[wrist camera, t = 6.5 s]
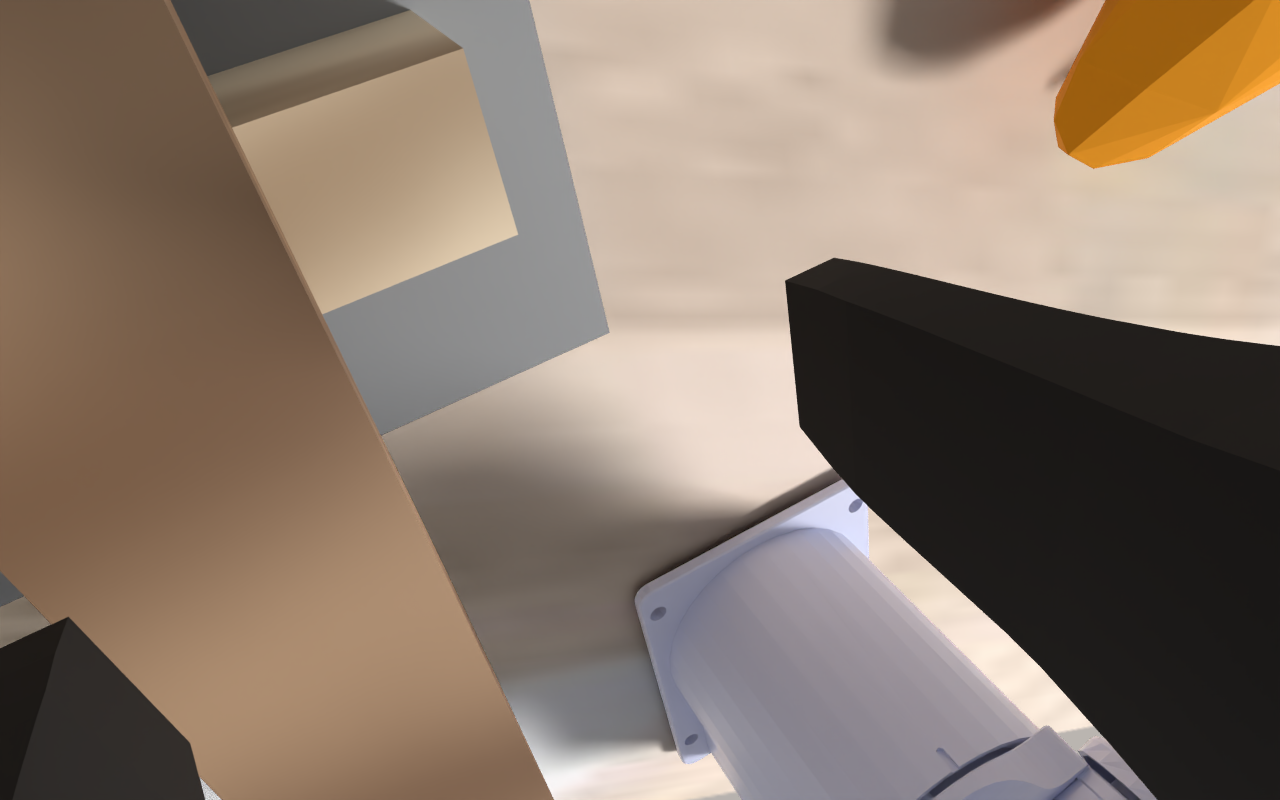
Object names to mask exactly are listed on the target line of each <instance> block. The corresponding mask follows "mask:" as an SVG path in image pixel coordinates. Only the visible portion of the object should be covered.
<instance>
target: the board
mask: <svg viewBox="0 0 1280 800" xmlns="http://www.w3.org/2000/svg"><path fill="white" fill-rule="evenodd" d="M171 2H172V4H173V7H174V9H175V11H176V13H177V15H178V17H179V19H180V21H181V23H182V25H183V27H184V29H185V31H186V33H187V35H188V38H189V40H190V42H191V44H192V46H193V48H194V50H195V52H196V54H197V56H198V58H199V60H200V62H201V64H202V67H203V69H204V71H205V73H206V75H207V76H210V75H213V74H216V73H219V72H222V71H225V70H228V69H231V68H234V67H237V66H240V65H243V64H246V63H249V62H252V61H255V60H259V59H262V58H265V57H268V56H271V55H274V54H277V53H280V52H283V51H286V50H289V49H292V48H295V47H298V46H301V45H304V44H307V43H311V42H314V41H317V40H320V39H323V38H326V37H329V36H332V35H335V34H338V33H341V32H344V31H347V30H350V29H353V28H356V27H359V26H363V25H366V24H369V23H372V22H375V21H378V20H381V19H384V18H387V17H390V16H393V15H396V14H399V13H402V12H405V11H408V10H411V11H413V12H414V13H415V14H417V15H418V16H419V17H421V18H422V19H424V20H425V21H426V22H428V23H429V24H430V25H432V26H433V27H435V28H436V29H437V30H439V31H440V32H441V33H443V34H444V35H446V36H447V37H448V38H450V39H451V40H452V41H454V42H455V43H457V44H458V45H459V46H461V47H462V48H463V49H464V53H465V56H466V60H467V63H468V66H469V70H470V73H471V77H472V80H473V83H474V87H475V90H476V93H477V97H478V100H479V104H480V107H481V110H482V114H483V117H484V120H485V124H486V127H487V131H488V134H489V137H490V141H491V144H492V148H493V151H494V154H495V158H496V161H497V164H498V168H499V171H500V175H501V178H502V181H503V185H504V188H505V191H506V195H507V198H508V202H509V205H510V208H511V212H512V215H513V218H514V222H515V225H516V229H517V232H518V235H516V236H513V237H511V238H509V239H506V240H504V241H501V242H499V243H496V244H494V245H491V246H489V247H486V248H484V249H482V250H479V251H477V252H474V253H472V254H469V255H467V256H464V257H462V258H459V259H457V260H454V261H452V262H450V263H447V264H445V265H442V266H440V267H437V268H435V269H432V270H430V271H427V272H425V273H423V274H420V275H418V276H415V277H413V278H410V279H408V280H405V281H403V282H400V283H398V284H396V285H393V286H391V287H388V288H386V289H383V290H381V291H378V292H376V293H373V294H371V295H369V296H366V297H364V298H361V299H359V300H356V301H354V302H351V303H349V304H346V305H344V306H341V307H339V308H337V309H334V310H332V311H329V312H327V313H324V314H322V315H323V317H324V319H325V321H326V323H327V325H328V327H329V329H330V332H331V334H332V336H333V338H334V340H335V342H336V344H337V346H338V348H339V350H340V352H341V354H342V356H343V358H344V361H345V363H346V365H347V367H348V369H349V371H350V373H351V375H352V377H353V379H354V381H355V383H356V385H357V387H358V389H359V392H360V394H361V396H362V398H363V400H364V402H365V404H366V406H367V408H368V410H369V412H370V414H371V416H372V418H373V421H374V423H375V425H376V427H377V429H378V431H379V433H380V435H383V434H385V433H388V432H390V431H392V430H394V429H396V428H399V427H401V426H403V425H405V424H408V423H410V422H412V421H414V420H416V419H419V418H421V417H423V416H425V415H428V414H430V413H432V412H434V411H436V410H439V409H441V408H443V407H445V406H448V405H450V404H452V403H454V402H456V401H459V400H461V399H463V398H465V397H468V396H470V395H472V394H474V393H476V392H479V391H481V390H483V389H485V388H488V387H490V386H492V385H494V384H496V383H499V382H501V381H503V380H505V379H508V378H510V377H512V376H514V375H516V374H519V373H521V372H523V371H525V370H528V369H530V368H532V367H534V366H536V365H539V364H541V363H543V362H545V361H548V360H550V359H552V358H554V357H556V356H559V355H561V354H563V353H565V352H568V351H570V350H572V349H574V348H576V347H579V346H581V345H583V344H585V343H588V342H590V341H592V340H594V339H596V338H599V337H601V336H603V335H605V334H608V333H610V332H609V328H608V324H607V320H606V316H605V312H604V308H603V304H602V299H601V295H600V291H599V287H598V283H597V279H596V275H595V270H594V266H593V262H592V258H591V254H590V250H589V246H588V241H587V237H586V233H585V229H584V225H583V221H582V217H581V213H580V208H579V204H578V200H577V196H576V192H575V188H574V184H573V179H572V175H571V171H570V167H569V163H568V159H567V155H566V151H565V146H564V142H563V138H562V134H561V130H560V126H559V122H558V117H557V113H556V109H555V105H554V101H553V97H552V93H551V89H550V84H549V80H548V76H547V72H546V68H545V64H544V60H543V55H542V51H541V47H540V43H539V39H538V35H537V31H536V27H535V22H534V18H533V14H532V10H531V6H530V2H529V0H171ZM23 596H24V595H23V594H22V593H21V592H20V591H19V590H18V589H17V588H16V587H15V586H14V585H13V584H12V583H11V582H10V581H9V580H8V579H7V578H6V577H5V576H4V575H3V574H2V573H1V572H0V607H1V606H3V605H5V604H8V603H10V602H12V601H14V600H16V599H19V598H21V597H23Z"/></svg>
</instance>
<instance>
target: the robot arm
mask: <svg viewBox="0 0 1280 800" xmlns="http://www.w3.org/2000/svg"><path fill="white" fill-rule="evenodd" d="M785 284H786V294H787V304H788V314H789V324H790V334H791V344H792V354H793V364H794V374H795V384H796V394H797V404H798V414H799V424H800V428H801V429H802V430H803V431H804V433H805V434H806V435H807V436H808V438H809V439H810V440H811V441H812V443H813V444H814V445H815V446H816V448H817V449H818V450H819V451H820V453H821V454H822V455H823V456H824V458H825V459H826V460H827V461H828V463H829V464H830V465H831V466H832V467H833V469H834V470H835V471H836V472H837V473H838V474H839V476H840V477H841V478H842V479H841V480H840V481H838V482H836V483H834V484H832V485H830V486H828V487H827V488H825V489H823V490H821V491H819V492H817V493H815V494H813V495H812V496H810V497H808V498H806V499H804V500H802V501H800V502H799V503H797V504H795V505H793V506H791V507H789V508H787V509H785V510H784V511H782V512H780V513H778V514H776V515H774V516H772V517H771V518H769V519H767V520H765V521H763V522H761V523H759V524H757V525H756V526H754V527H752V528H750V529H748V530H746V531H744V532H743V533H741V534H739V535H737V536H735V537H733V538H731V539H730V540H728V541H726V542H724V543H722V544H720V545H718V546H716V547H715V548H713V549H711V550H709V551H707V552H705V553H703V554H702V555H700V556H698V557H696V558H694V559H692V560H690V561H688V562H687V563H685V564H683V565H681V566H679V567H677V568H675V569H674V570H672V571H670V572H668V573H666V574H664V575H662V576H660V577H659V578H657V579H655V580H653V581H651V582H649V583H647V584H646V585H644V586H643V587H642V588H641V589H640V590H639V591H638V592H637V594H636V596H635V606H636V610H637V613H638V617H639V620H640V623H641V627H642V630H643V634H644V637H645V641H646V644H647V648H648V651H649V655H650V658H651V662H652V665H653V669H654V672H655V676H656V679H657V683H658V686H659V690H660V693H661V697H662V700H663V703H664V707H665V710H666V714H667V717H668V721H669V724H670V728H671V731H672V735H673V738H674V742H675V745H676V749H677V752H678V755H679V756H680V758H681V760H682V761H683V762H684V763H686V764H691V763H694V762H697V761H698V760H700V759H702V758H703V757H705V756H707V755H708V754H710V753H712V755H713V756H714V758H715V759H716V761H717V762H718V764H719V766H720V767H721V769H722V770H723V772H724V773H725V775H726V776H727V778H728V779H729V781H730V782H731V784H732V786H733V787H734V789H735V790H736V792H737V793H738V795H739V796H740V798H741V799H742V800H1280V346H1274V345H1266V344H1258V343H1250V342H1242V341H1234V340H1226V339H1219V338H1213V337H1206V336H1200V335H1193V334H1187V333H1181V332H1175V331H1170V330H1164V329H1159V328H1153V327H1148V326H1142V325H1137V324H1132V323H1126V322H1121V321H1115V320H1110V319H1105V318H1100V317H1095V316H1090V315H1085V314H1081V313H1076V312H1071V311H1066V310H1062V309H1057V308H1053V307H1048V306H1044V305H1039V304H1035V303H1030V302H1026V301H1022V300H1017V299H1013V298H1009V297H1004V296H1000V295H996V294H992V293H988V292H984V291H979V290H975V289H971V288H967V287H963V286H959V285H955V284H951V283H946V282H942V281H938V280H934V279H930V278H926V277H922V276H918V275H914V274H909V273H905V272H901V271H897V270H892V269H888V268H884V267H879V266H875V265H870V264H865V263H860V262H855V261H850V260H844V259H838V258H832V259H830V260H828V261H826V262H824V263H822V264H820V265H818V266H815V267H813V268H811V269H809V270H807V271H805V272H803V273H800V274H798V275H796V276H794V277H792V278H790V279H788V280H786V281H785ZM868 507H869V508H870V509H872V510H873V511H874V512H875V513H876V514H877V515H878V516H879V517H880V518H881V519H882V520H883V521H884V522H886V523H887V524H888V525H889V526H890V527H891V528H892V529H893V530H894V531H895V532H896V533H897V534H898V535H900V536H901V537H902V538H903V539H904V540H905V541H906V542H907V543H908V544H909V545H910V546H911V547H913V548H914V549H915V550H916V551H917V552H918V553H919V554H920V555H921V556H922V557H923V558H925V559H926V560H927V561H928V562H929V563H930V564H931V565H932V566H933V567H934V568H936V569H937V570H938V571H939V572H940V573H941V574H942V575H943V576H944V577H945V578H947V579H948V580H949V581H950V582H951V583H952V584H953V585H954V586H955V587H956V588H958V589H959V590H960V591H961V592H962V593H963V594H964V595H965V596H966V597H967V598H968V599H970V600H971V601H972V602H973V603H974V604H975V605H976V606H977V607H978V608H979V609H981V610H982V611H983V612H984V613H985V614H986V615H987V616H988V617H989V618H990V619H991V620H993V621H994V622H995V623H996V624H997V625H998V626H999V627H1000V628H1001V629H1002V630H1004V631H1005V632H1006V633H1007V634H1008V635H1009V636H1010V637H1011V638H1012V639H1013V640H1014V641H1015V642H1016V643H1017V644H1018V645H1019V646H1020V647H1021V648H1022V649H1023V650H1024V651H1025V652H1026V653H1027V654H1028V655H1029V656H1030V657H1031V658H1032V659H1033V660H1034V661H1035V662H1036V663H1037V664H1038V665H1039V666H1040V667H1041V668H1042V669H1043V670H1044V671H1045V672H1046V673H1047V675H1048V676H1049V677H1050V678H1051V679H1052V680H1053V681H1054V682H1055V683H1056V685H1057V686H1058V687H1059V688H1060V689H1061V690H1062V691H1063V692H1064V693H1065V695H1066V696H1067V697H1068V698H1069V699H1070V700H1071V701H1072V702H1073V703H1074V705H1075V706H1076V707H1077V708H1078V709H1079V710H1080V711H1081V712H1082V714H1083V715H1084V716H1085V717H1086V718H1087V719H1088V720H1089V721H1090V722H1091V724H1092V725H1093V726H1094V727H1095V728H1096V729H1097V730H1098V731H1099V732H1100V734H1101V735H1102V736H1103V737H1104V738H1103V737H1098V736H1094V737H1092V738H1090V740H1088V741H1087V742H1086V743H1085V744H1084V745H1083V746H1082V747H1081V748H1080V749H1079V750H1078V752H1079V754H1080V755H1081V757H1082V758H1081V757H1080V756H1079V755H1078V754H1077V753H1076V752H1075V751H1074V750H1073V749H1072V748H1071V747H1070V746H1069V745H1068V744H1067V743H1066V742H1065V741H1064V740H1063V739H1062V738H1061V737H1060V736H1059V735H1058V734H1057V733H1056V732H1055V731H1054V730H1053V729H1052V728H1051V727H1050V726H1044V727H1042V728H1041V729H1039V728H1038V727H1037V726H1036V725H1035V724H1034V723H1033V722H1032V721H1031V720H1030V719H1029V718H1028V717H1027V716H1026V715H1025V714H1024V713H1023V712H1022V711H1021V710H1020V709H1019V708H1018V707H1017V706H1016V705H1015V704H1014V703H1013V702H1012V701H1011V700H1010V699H1009V698H1008V697H1007V696H1006V695H1005V694H1004V693H1003V692H1002V691H1001V690H1000V689H999V688H998V687H997V686H996V685H995V684H994V683H993V682H992V681H991V680H990V679H989V678H988V677H987V676H986V675H985V674H984V673H983V672H982V671H981V670H980V669H979V668H978V667H977V666H976V665H975V664H974V663H973V662H972V661H971V660H970V659H969V658H968V657H967V656H966V655H965V654H964V653H963V652H962V651H961V650H960V649H959V648H958V647H957V646H956V645H955V644H954V643H953V642H952V641H951V640H950V639H949V638H948V637H947V636H946V635H945V634H944V633H943V632H942V631H941V630H940V629H939V628H938V627H937V626H936V625H935V624H934V623H933V622H932V621H931V620H929V619H928V618H927V617H926V616H925V615H924V614H923V613H922V612H921V611H920V610H919V609H918V608H917V607H916V606H915V605H914V604H913V603H912V602H911V601H910V600H909V599H908V598H907V597H906V596H905V595H904V594H903V593H902V592H901V591H900V590H899V589H898V588H897V587H896V586H895V585H894V584H893V583H892V582H891V581H890V580H889V579H888V578H887V577H886V576H885V575H884V574H883V573H882V572H881V571H880V570H879V569H878V568H877V567H876V566H875V565H874V564H873V563H872V562H871V561H870V560H869V535H868ZM0 800H205V797H204V793H203V790H202V786H201V782H200V778H199V774H198V771H197V767H196V763H195V759H194V755H193V752H192V748H191V744H190V742H189V741H188V740H187V739H186V738H185V737H184V736H183V735H182V734H181V733H180V732H179V731H178V730H177V729H176V728H175V727H174V726H173V725H172V723H171V722H170V721H169V720H168V719H167V718H166V717H165V716H164V715H163V714H162V713H161V712H160V711H159V710H158V709H157V708H156V707H155V706H154V705H153V704H152V703H151V702H150V701H149V700H148V699H147V698H146V697H145V695H144V694H143V693H142V692H141V691H140V690H139V689H138V688H137V687H136V686H135V685H134V684H133V683H132V682H131V681H130V680H129V679H128V678H127V677H126V676H125V675H124V674H123V673H122V672H121V671H120V670H119V668H118V667H117V666H116V665H115V664H114V663H113V662H112V661H111V660H110V659H109V658H108V657H107V656H106V655H105V654H104V653H103V652H102V651H101V650H100V649H99V648H98V647H97V646H96V645H95V644H94V643H93V642H92V640H91V639H90V638H89V637H88V636H87V635H86V634H85V633H84V632H83V631H82V630H81V629H80V628H79V627H78V626H77V625H76V624H75V623H74V622H73V621H72V620H71V619H70V618H69V617H66V618H64V619H62V620H60V621H58V622H56V623H54V624H51V625H49V626H47V627H45V628H43V629H41V630H39V631H37V632H34V633H32V634H30V635H28V636H26V637H24V638H22V639H19V640H17V641H15V642H13V643H11V644H9V645H7V646H5V647H2V648H0Z"/></svg>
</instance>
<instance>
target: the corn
mask: <svg viewBox="0 0 1280 800" xmlns="http://www.w3.org/2000/svg"><path fill="white" fill-rule="evenodd" d="M1279 83H1280V0H1106V1H1105V2H1104V4H1103V6H1102V8H1101V10H1100V12H1099V14H1098V16H1097V18H1096V20H1095V22H1094V24H1093V26H1092V28H1091V30H1090V32H1089V34H1088V36H1087V38H1086V40H1085V42H1084V44H1083V46H1082V48H1081V50H1080V51H1079V53H1078V55H1077V57H1076V59H1075V61H1074V63H1073V65H1072V67H1071V69H1070V71H1069V73H1068V75H1067V77H1066V79H1065V81H1064V83H1063V85H1062V87H1061V89H1060V91H1059V93H1058V95H1057V97H1056V103H1055V113H1054V124H1055V131H1056V137H1057V143H1058V147H1059V148H1060V149H1061V150H1063V151H1064V152H1065V153H1066V154H1068V155H1069V156H1071V157H1073V158H1075V159H1077V160H1079V161H1080V162H1082V163H1084V164H1086V165H1088V166H1089V167H1091V168H1093V169H1094V168H1099V167H1104V166H1109V165H1114V164H1120V163H1125V162H1130V161H1135V160H1140V159H1145V158H1149V157H1151V156H1152V155H1154V154H1156V153H1158V152H1159V151H1161V150H1163V149H1165V148H1166V147H1168V146H1170V145H1172V144H1174V143H1175V142H1177V141H1179V140H1181V139H1182V138H1184V137H1186V136H1188V135H1189V134H1191V133H1193V132H1195V131H1196V130H1198V129H1200V128H1202V127H1204V126H1205V125H1207V124H1209V123H1211V122H1212V121H1214V120H1216V119H1218V118H1219V117H1221V116H1223V115H1225V114H1226V113H1228V112H1230V111H1232V110H1234V109H1235V108H1237V107H1239V106H1241V105H1242V104H1244V103H1246V102H1248V101H1249V100H1251V99H1253V98H1255V97H1257V96H1258V95H1260V94H1262V93H1264V92H1265V91H1267V90H1269V89H1271V88H1272V87H1274V86H1276V85H1278V84H1279Z"/></svg>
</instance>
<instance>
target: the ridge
mask: <svg viewBox="0 0 1280 800" xmlns="http://www.w3.org/2000/svg"><path fill="white" fill-rule="evenodd" d="M207 77H208V79H209V81H210V83H211V85H212V87H213V89H214V91H215V93H216V96H217V98H218V100H219V102H220V104H221V106H222V108H223V110H224V112H225V114H226V116H227V118H228V120H229V122H230V125H231V127H232V129H233V131H234V133H235V135H236V137H237V139H238V141H239V143H240V145H241V147H242V149H243V151H244V153H245V156H246V158H247V160H248V162H249V164H250V166H251V168H252V170H253V172H254V174H255V176H256V178H257V180H258V182H259V185H260V187H261V189H262V191H263V193H264V195H265V197H266V199H267V201H268V203H269V205H270V207H271V209H272V211H273V214H274V216H275V218H276V220H277V222H278V224H279V226H280V228H281V230H282V232H283V234H284V236H285V238H286V240H287V243H288V245H289V247H290V249H291V251H292V253H293V255H294V257H295V259H296V261H297V263H298V265H299V267H300V269H301V271H302V274H303V276H304V278H305V280H306V282H307V284H308V286H309V288H310V290H311V292H312V294H313V296H314V298H315V300H316V303H317V305H318V307H319V309H320V311H321V313H322V314H324V313H327V312H329V311H332V310H334V309H337V308H339V307H341V306H344V305H346V304H349V303H351V302H354V301H356V300H359V299H361V298H364V297H366V296H369V295H371V294H373V293H376V292H378V291H381V290H383V289H386V288H388V287H391V286H393V285H396V284H398V283H400V282H403V281H405V280H408V279H410V278H413V277H415V276H418V275H420V274H423V273H425V272H427V271H430V270H432V269H435V268H437V267H440V266H442V265H445V264H447V263H450V262H452V261H454V260H457V259H459V258H462V257H464V256H467V255H469V254H472V253H474V252H477V251H479V250H482V249H484V248H486V247H489V246H491V245H494V244H496V243H499V242H501V241H504V240H506V239H509V238H511V237H513V236H516V235H518V232H517V229H516V225H515V222H514V218H513V215H512V212H511V208H510V205H509V202H508V198H507V195H506V191H505V188H504V185H503V181H502V178H501V175H500V171H499V168H498V164H497V161H496V158H495V154H494V151H493V148H492V144H491V141H490V137H489V134H488V131H487V127H486V124H485V120H484V117H483V114H482V110H481V107H480V104H479V100H478V97H477V93H476V90H475V87H474V83H473V80H472V77H471V73H470V70H469V66H468V63H467V60H466V56H465V53H464V49H463V48H462V47H461V46H459V45H458V44H457V43H455V42H454V41H452V40H451V39H450V38H448V37H447V36H446V35H444V34H443V33H441V32H440V31H439V30H437V29H436V28H435V27H433V26H432V25H430V24H429V23H428V22H426V21H425V20H424V19H422V18H421V17H419V16H418V15H417V14H415V13H414V12H413V11H411V10H408V11H405V12H402V13H399V14H396V15H393V16H390V17H387V18H384V19H381V20H378V21H375V22H372V23H369V24H366V25H363V26H359V27H356V28H353V29H350V30H347V31H344V32H341V33H338V34H335V35H332V36H329V37H326V38H323V39H320V40H317V41H314V42H311V43H307V44H304V45H301V46H298V47H295V48H292V49H289V50H286V51H283V52H280V53H277V54H274V55H271V56H268V57H265V58H262V59H259V60H255V61H252V62H249V63H246V64H243V65H240V66H237V67H234V68H231V69H228V70H225V71H222V72H219V73H216V74H213V75H210V76H207Z"/></svg>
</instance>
